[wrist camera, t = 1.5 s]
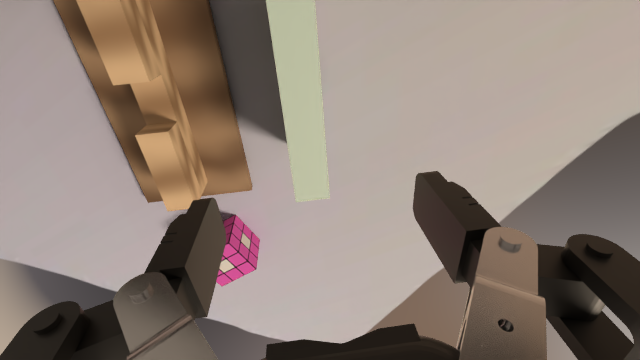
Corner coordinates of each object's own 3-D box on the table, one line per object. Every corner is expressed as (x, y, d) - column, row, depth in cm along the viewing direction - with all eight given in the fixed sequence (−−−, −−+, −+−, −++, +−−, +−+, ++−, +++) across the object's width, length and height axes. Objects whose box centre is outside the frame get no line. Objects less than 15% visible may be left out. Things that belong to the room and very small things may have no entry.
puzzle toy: (202, 232, 42) (191, 262, 37) (235, 214, 41) (228, 242, 36) (228, 256, 45) (221, 287, 40) (260, 239, 43) (256, 269, 39)
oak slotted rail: (33, -59, 25) (-40, -77, 19) (191, -72, 25) (164, -93, 20) (151, 198, 38) (127, 231, 32) (252, 186, 39) (246, 216, 33)
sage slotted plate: (272, -9, 28) (263, -15, 18) (303, -12, 28) (313, -20, 18) (293, 145, 36) (296, 202, 26) (317, 143, 36) (329, 198, 26)
